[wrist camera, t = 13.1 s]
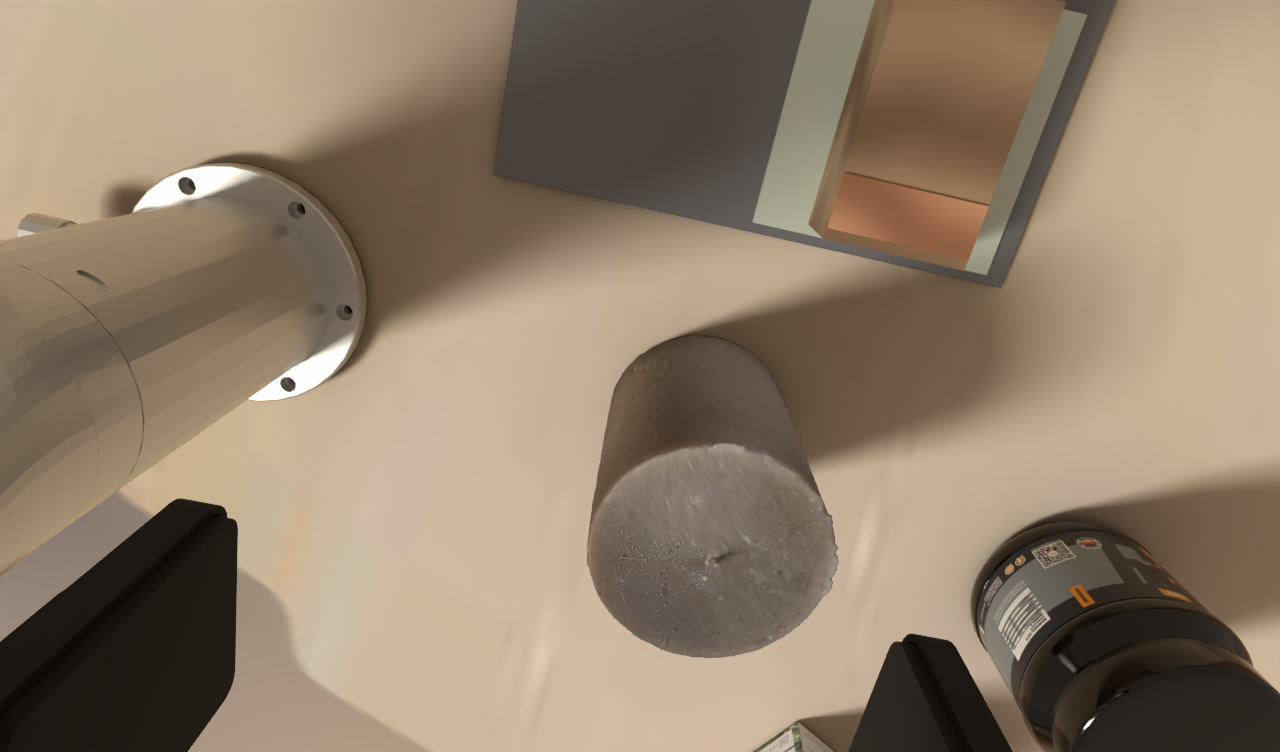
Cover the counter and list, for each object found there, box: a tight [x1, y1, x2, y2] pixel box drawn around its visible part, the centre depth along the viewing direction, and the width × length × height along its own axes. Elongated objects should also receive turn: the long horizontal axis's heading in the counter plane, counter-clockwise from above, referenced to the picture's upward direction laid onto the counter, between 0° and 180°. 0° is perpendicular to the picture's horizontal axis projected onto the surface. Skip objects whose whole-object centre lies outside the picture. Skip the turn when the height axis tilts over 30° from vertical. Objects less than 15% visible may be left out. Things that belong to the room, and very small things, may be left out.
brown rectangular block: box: [808, 0, 1066, 271], centre depth 33 cm, size 11×6×4 cm, turn 168°
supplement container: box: [970, 521, 1280, 752], centre depth 39 cm, size 10×10×12 cm
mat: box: [494, 0, 1114, 288], centre depth 34 cm, size 26×20×1 cm
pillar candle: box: [587, 336, 838, 658], centre depth 34 cm, size 10×10×15 cm
